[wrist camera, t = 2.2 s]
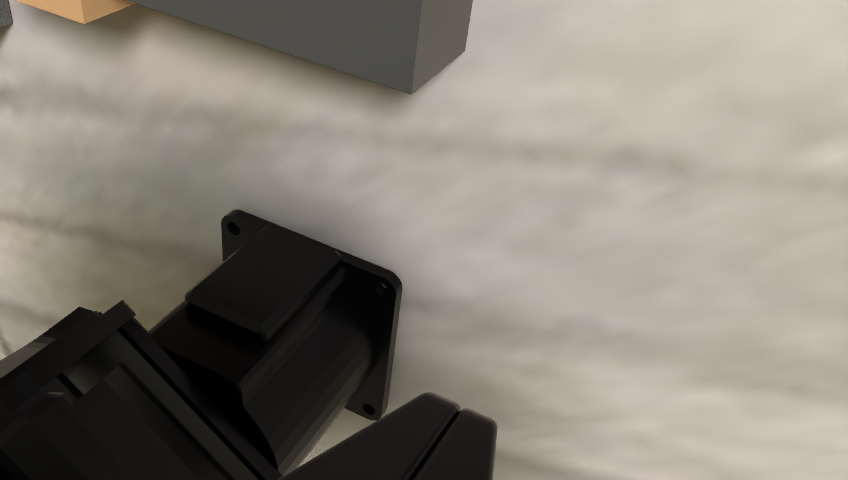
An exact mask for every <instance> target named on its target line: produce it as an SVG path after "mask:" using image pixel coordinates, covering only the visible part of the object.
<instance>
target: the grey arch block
mask: <svg viewBox="0 0 848 480" xmlns="http://www.w3.org/2000/svg"><path fill="white" fill-rule="evenodd" d="M11 23H12V18H11V14H10V9H9V4H8V0H0V27H3V26H5V25H8V24H11Z"/></svg>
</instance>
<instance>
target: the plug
mask: <svg viewBox="0 0 848 480" xmlns="http://www.w3.org/2000/svg"><path fill="white" fill-rule="evenodd" d="M16 1H19V2H22V3H25V4H28V5H31V6H34V7H36V8H39V9H42V10H45V11H48V12H51V13H54V14H57V15H59V16H62V17H65V18H68V19H71V20H74V21H77V22H80V23H82V24H86V23H88V22H91V21H93V20H96V19H98V18H101V17H103V16H106V15H108V14H111V13H114V12H116V11H119V10H121V9H124V8H126V7H129V6H131V5H134V4H139V5H142V6H145V7H148V8H151V9H154V10H157V11H160V12H163V13H166V14H169V15H173V16H176V17H179V18H182V19H185V20H188V21H191V22H194V23H197V24H200V25H203V26H206V27H209V28H212V29H215V30H218V31H221V32H224V33H227V34H230V35H233V36H236V37H239V38H242V39H245V40H248V41H251V42H254V43H257V44H260V45H263V46H266V47H269V48H272V49H275V50H278V51H281V52H285V53H288V54H291V55H294V56H297V57H300V58H303V59H306V60H309V61H312V62H315V63H318V64H321V65H324V66H327V67H330V68H333V69H336V70H339V71H342V72H345V73H348V74H351V75H354V76H357V77H360V78H363V79H366V80H369V81H372V82H375V83H378V84H381V85H384V86H387V87H390V88H393V89H397V90H400V91H403V92H406V93H409V94H413V93H414V92H415V91H416V90H417V89H419V88H420V87H421V86H422V85H424V84H425V83H426V82H427V81H428V80H430V79H431V78H432V77H433V76H435V75H436V74H437V73H438V72H439V71H441V70H442V69H443V68H444V67H446V66H447V65H448V64H449V63H451V62H452V61H453V60H454V59H455V58H457V57H458V56H459V55H460V54H462V53H463V52H464V51H465V47H466V41H467V34H468V28H469V21H470V15H471V8H472V2H473V0H16Z"/></svg>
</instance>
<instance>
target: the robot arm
mask: <svg viewBox="0 0 848 480" xmlns="http://www.w3.org/2000/svg"><path fill="white" fill-rule="evenodd" d="M236 224H237V225H238V226H237V225H236ZM221 228H222V249H223V262H222V263H221V264H220V265H219V266H218V267H216V268H215V269H214V270H213V271H212V272H210V273H209V274H208V275H207V276H206V277H204V278H203V279H202V280H201V281H200V282H198V283H197V284H196V285H195V286H194V287H193V288H191V289H190V290H189V291H188V292H187V293H186V294H185V300H184V301H183V302H182V303H181V304H180V305H178V306H177V307H176V308H175V309H174V310H172V311H171V312H170V313H169V314H168V315H167V316H165V317H164V318H163V319H162V320H161V321H159V322H158V323H157V324H156V325H155V326H154V327H152V328H151V329H150V330H149V331H147V330H146V329H145V328H144V327H143V326H142V325H141V324H140V323H139V322H138V321H137V320H136V319H135V317H134V316H135V315H136V314H135V312H134V311H133V310H132V309H131V308H130V307H129V306H128V305H127V304H126V303H125V302H124V301H123V300H122V301H120V302H119V303H118V304H116V305H115V306H114V307H112V308H111V309H109V310H108V311H107V312H105V313H104V314H102V313H101V312H99V313H98V312H97V311H95V312H93V311H91V310H88V309H85V308H82V307H78V308H77V309H76V310H74V311H73V312H72V313H70V314H69V315H68V316H66V317H65V318H64V319H62V320H61V321H60V322H58V323H57V324H56V325H54V326H53V327H52V328H50V329H49V330H48V331H46V332H45V333H43V334H42V335H41V336H39V337H38V338H36V339H35V340H33V341H32V342H30V343H29V344H27V345H26V346H24V347H22V348H21V349H19V350H17V351H16V352H14V353H12V354H11V355H9V356H7V357H6V358H4V359H2V360H1V361H0V480H493V470H494V459H495V448H496V437H497V424H496V422H495V421H494V420H493V419H490V418H488V417H486V416H484V415H481V414H479V413H477V412H475V411H473V410H470V409H463V410H461V408H460V406H459V405H458V404H457V403H455V402H452V401H450V400H448V399H446V398H444V397H441V396H439V395H437V394H435V393H431V392H428V393H423V394H422V395H420V396H418V397H416V398H415V399H413V400H411V401H410V402H408V403H406V404H405V405H403V406H401V407H399V408H398V409H396V410H394V411H393V412H391V413H389V414H388V415H386V416H384V417H383V418H381V416H382V415H383V414H384V412H385V411H386V408H387V403H388V395H389V387H390V379H391V372H392V364H393V356H394V348H395V341H396V333H397V325H398V317H399V310H400V302H401V294H402V283H401V281H400V279H399V278H398V277H397V276H396V275H395V274H394V273H393V272H391V271H389V270H387V269H384V268H382V267H379V266H377V265H374V264H372V263H369V262H367V261H364V260H362V259H360V258H357V257H355V256H352V255H350V254H347V253H345V252H342V251H340V250H337V249H335V248H332V247H330V246H327V245H325V244H323V243H320V242H318V241H315V240H313V239H310V238H308V237H305V236H303V235H300V234H298V233H295V232H293V231H290V230H288V229H286V228H283V227H281V226H278V225H276V224H273V223H271V222H268V221H266V220H263V219H261V218H258V217H256V216H253V215H251V214H249V213H246V212H244V211H241V210H237V209H236V210H232V211H231V212H229V213H228V214H227V215H226V216H224V218H223V219H222V222H221ZM381 283H382V284H384V285H385V286H387V288H388V289H389V290H388V289H386V288H384V287H383V285H382V284H381ZM344 408H346V409H348V410H350V411H352V412H354V413H356V414H358V415H361V416H363V417H365V418H367V419H370V420H377V421H376V422H374V423H372V424H371V425H369V426H367V427H366V428H364V429H362V430H361V431H359V432H357V433H355V434H354V435H352V436H350V437H349V438H347V439H345V440H344V441H342V442H340V443H339V444H337V445H335V446H333V447H332V448H330V449H328V450H327V451H325V452H323V453H322V454H320V455H318V456H317V457H315V458H313V459H311V460H310V461H308V462H306V463H305V464H303V465H301V466H300V467H299V465H300V464H301V463H302V462H303V460H304V459H305V458H306V456H307V455H308V454H309V452H310V451H311V450H312V449H313V447H314V446H315V445H316V443H317V442H318V441H319V440H320V438H321V437H322V436H323V434H324V433H325V432H326V431H327V429H328V428H329V427H330V425H331V424H332V423H333V421H334V420H335V419H336V418H337V416H338V415H339V414H340V412H341V411H342V410H343V409H344ZM380 418H381V419H380ZM378 419H379V420H378Z"/></svg>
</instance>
